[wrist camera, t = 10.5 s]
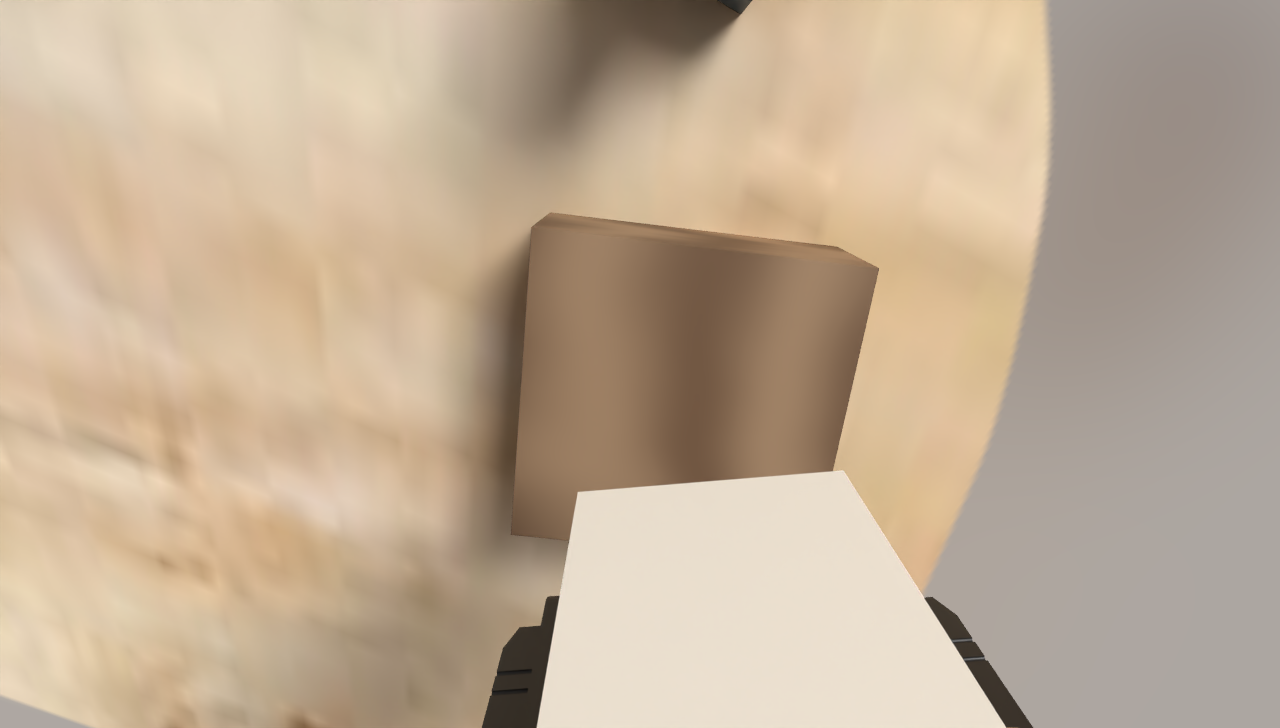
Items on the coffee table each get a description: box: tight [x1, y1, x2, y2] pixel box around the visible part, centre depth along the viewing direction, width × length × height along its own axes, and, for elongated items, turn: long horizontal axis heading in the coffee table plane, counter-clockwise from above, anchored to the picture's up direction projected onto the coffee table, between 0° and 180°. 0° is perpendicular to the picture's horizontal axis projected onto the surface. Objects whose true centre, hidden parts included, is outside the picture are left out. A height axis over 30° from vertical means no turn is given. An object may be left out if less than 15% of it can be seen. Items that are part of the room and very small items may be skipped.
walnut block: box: [511, 213, 879, 540], centre depth 25 cm, size 11×11×5 cm
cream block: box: [537, 470, 1006, 728], centre depth 11 cm, size 5×5×6 cm
